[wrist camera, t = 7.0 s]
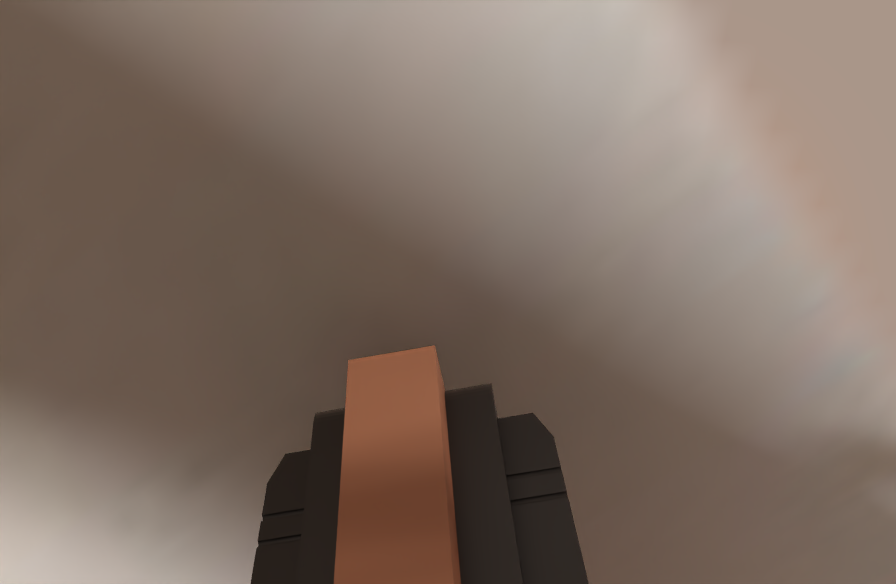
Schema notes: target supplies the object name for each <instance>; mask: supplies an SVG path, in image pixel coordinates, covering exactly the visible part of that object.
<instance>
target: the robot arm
mask: <svg viewBox="0 0 896 584" xmlns="http://www.w3.org/2000/svg"><path fill="white" fill-rule="evenodd" d="M445 405H446V417H447V428H448V440H449V451H450V463H451V474H452V486H453V497H454V509H455V520H456V532H457V543H458V555H459V566H460V577H461V584H589V583H588V579H587V575H586V571H585V567H584V563H583V558H582V554H581V550H580V546H579V542H578V537H577V533H576V529H575V525H574V521H573V516H572V512H571V508H570V504H569V500H568V497H567V492H566V487H565V483H564V479H563V475H562V472H561V466H560V462H559V458H558V454H557V450H556V445H555V441H554V437H553V436H552V434H551V433H550V432H549V431H548V430H547V429H546V427H545V426H544V425H543V424H542V423H541V422H540V421H539V419H538V418H537V417H536V416H535V415H534V414H533V413H530V414H524V415H518V416H511V417H505V418H499V419H498V417H497V412H496V406H495V401H494V395H493V390H492V385H491V384H486V385H480V386H474V387H468V388H462V389H456V390H450V391H445ZM344 419H345V408H343V409H337V410H331V411H325V412H319V413H316V415H315V418H314V423H313V432H312V441H311V450H307V451H301V452H295V453H288V454H285V456H284V457H283V459H282V461H281V462H280V464H279V465H278V467H277V469H276V470H275V472H274V473H273V475H272V477H271V478H270V480H269V482H268V483H267V488H266V494H265V500H264V506H263V512H262V517H263V521H261V524H260V530H259V536H258V544H259V546H258V547H257V549H256V555H255V561H254V567H253V573H252V579H251V584H334V572H335V557H336V542H337V526H338V511H339V496H340V480H341V465H342V449H343V434H344Z"/></svg>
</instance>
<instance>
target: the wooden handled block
mask: <svg viewBox="0 0 896 584" xmlns="http://www.w3.org/2000/svg"><path fill="white" fill-rule="evenodd" d="M334 584H461V577H460V566H459V555H458V543H457V532H456V520H455V509H454V497H453V486H452V474H451V463H450V451H449V440H448V428H447V417H446V405H445V387H444V383H443V379H442V374H441V370H440V366H439V361H438V357H437V352H436V348H435V345H433V346H427V347H422V348H416V349H410V350H404V351H398V352H392V353H387V354H381V355H375V356H369V357H363V358H357V359H352V360H348V373H347V388H346V403H345V419H344V434H343V449H342V465H341V480H340V496H339V511H338V526H337V542H336V557H335V572H334Z"/></svg>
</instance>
